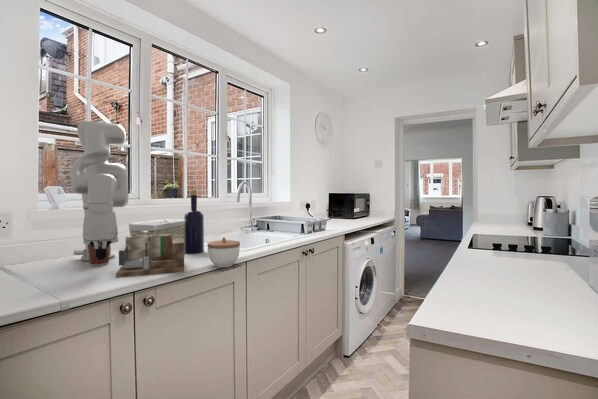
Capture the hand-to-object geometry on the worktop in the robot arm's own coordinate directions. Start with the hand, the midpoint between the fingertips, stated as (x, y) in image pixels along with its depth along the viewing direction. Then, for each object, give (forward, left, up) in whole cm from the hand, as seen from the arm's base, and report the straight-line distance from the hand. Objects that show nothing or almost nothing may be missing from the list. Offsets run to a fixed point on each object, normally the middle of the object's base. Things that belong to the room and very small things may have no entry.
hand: (101, 259), depth 114 cm
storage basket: (+17, +41, -6) cm, 45 cm away
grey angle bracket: (+10, -1, -3) cm, 11 cm away
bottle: (+33, +30, -5) cm, 45 cm away
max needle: (+15, -6, -3) cm, 17 cm away
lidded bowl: (+43, -2, -5) cm, 43 cm away
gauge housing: (+17, 0, -5) cm, 18 cm away
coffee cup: (-4, +17, -5) cm, 18 cm away
